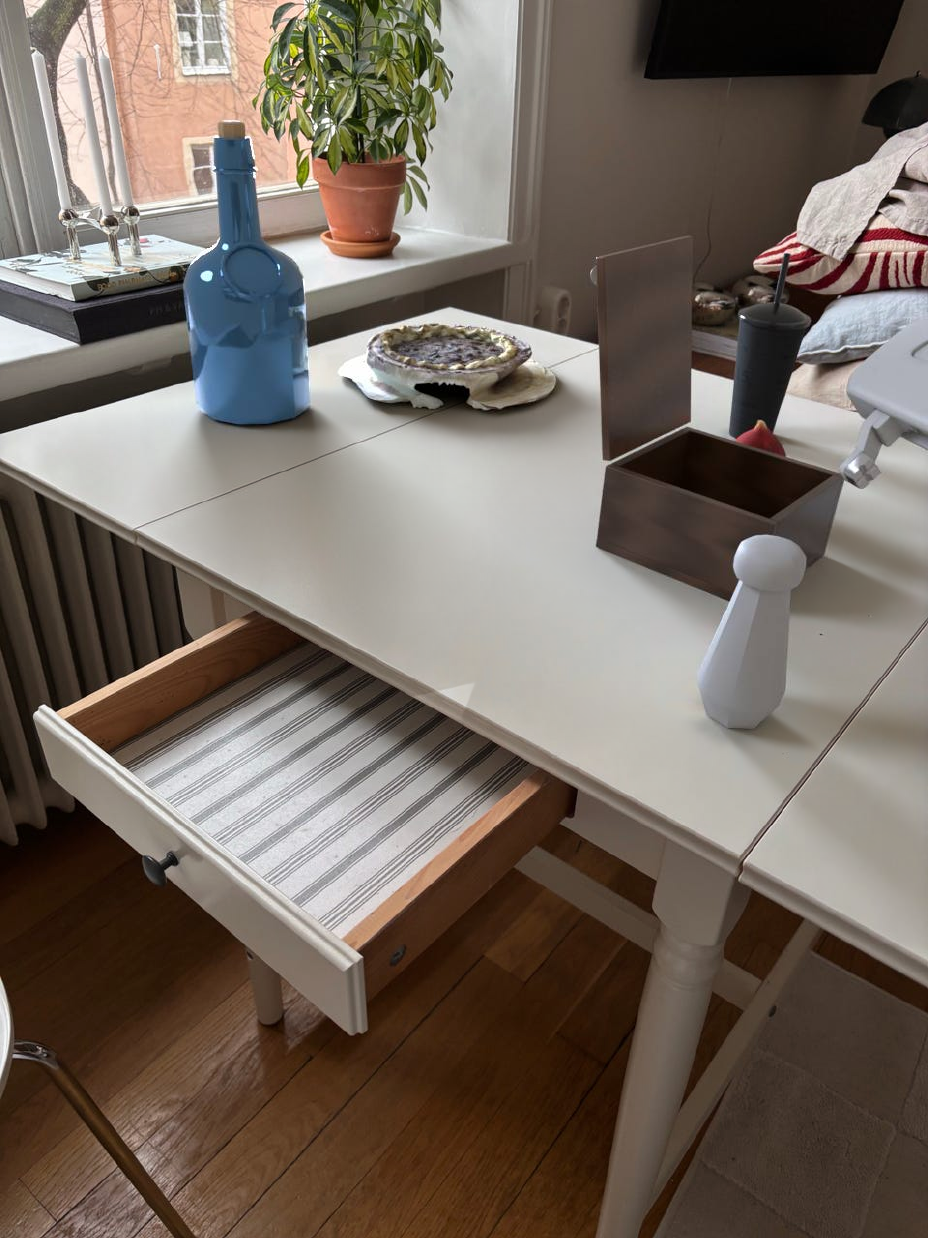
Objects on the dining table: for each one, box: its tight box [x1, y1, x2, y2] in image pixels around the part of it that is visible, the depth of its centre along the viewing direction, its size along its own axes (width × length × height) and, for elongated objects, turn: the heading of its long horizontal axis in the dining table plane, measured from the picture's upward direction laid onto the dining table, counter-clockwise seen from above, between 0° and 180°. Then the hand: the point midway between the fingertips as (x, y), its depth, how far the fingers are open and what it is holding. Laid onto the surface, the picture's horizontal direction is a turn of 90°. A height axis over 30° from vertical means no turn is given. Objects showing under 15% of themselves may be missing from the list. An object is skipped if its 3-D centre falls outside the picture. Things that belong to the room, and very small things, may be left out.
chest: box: [595, 426, 845, 602], centre depth 84 cm, size 16×14×8 cm
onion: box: [734, 420, 787, 457], centre depth 94 cm, size 6×6×8 cm
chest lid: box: [590, 235, 693, 462], centre depth 83 cm, size 16×14×4 cm
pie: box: [337, 322, 557, 411], centre depth 122 cm, size 28×27×5 cm
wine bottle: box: [182, 119, 311, 425], centre depth 104 cm, size 14×13×30 cm
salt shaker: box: [696, 535, 806, 730], centre depth 63 cm, size 6×6×13 cm
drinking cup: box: [728, 252, 812, 440], centre depth 105 cm, size 8×8×20 cm
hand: (900, 510), depth 60 cm, fingers open, 8 cm apart
